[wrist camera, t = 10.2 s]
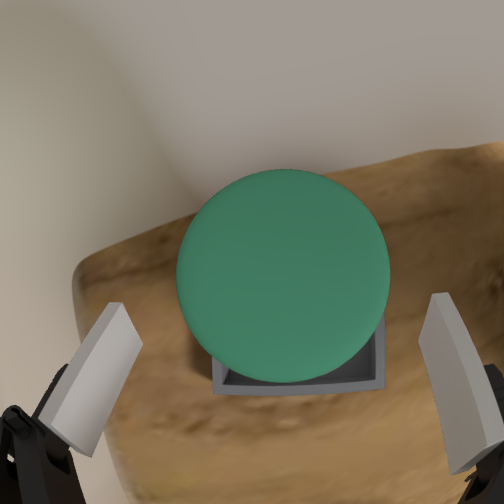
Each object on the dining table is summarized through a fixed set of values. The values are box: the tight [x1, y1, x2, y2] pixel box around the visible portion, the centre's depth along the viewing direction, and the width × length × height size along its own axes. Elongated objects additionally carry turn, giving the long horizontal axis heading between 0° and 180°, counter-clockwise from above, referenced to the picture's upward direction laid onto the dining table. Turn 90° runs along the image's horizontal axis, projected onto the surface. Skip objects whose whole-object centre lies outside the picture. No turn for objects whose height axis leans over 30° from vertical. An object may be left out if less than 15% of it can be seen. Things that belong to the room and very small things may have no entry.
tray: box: [212, 312, 385, 396], centre depth 24 cm, size 14×14×3 cm
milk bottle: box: [176, 169, 390, 383], centre depth 15 cm, size 8×8×20 cm
